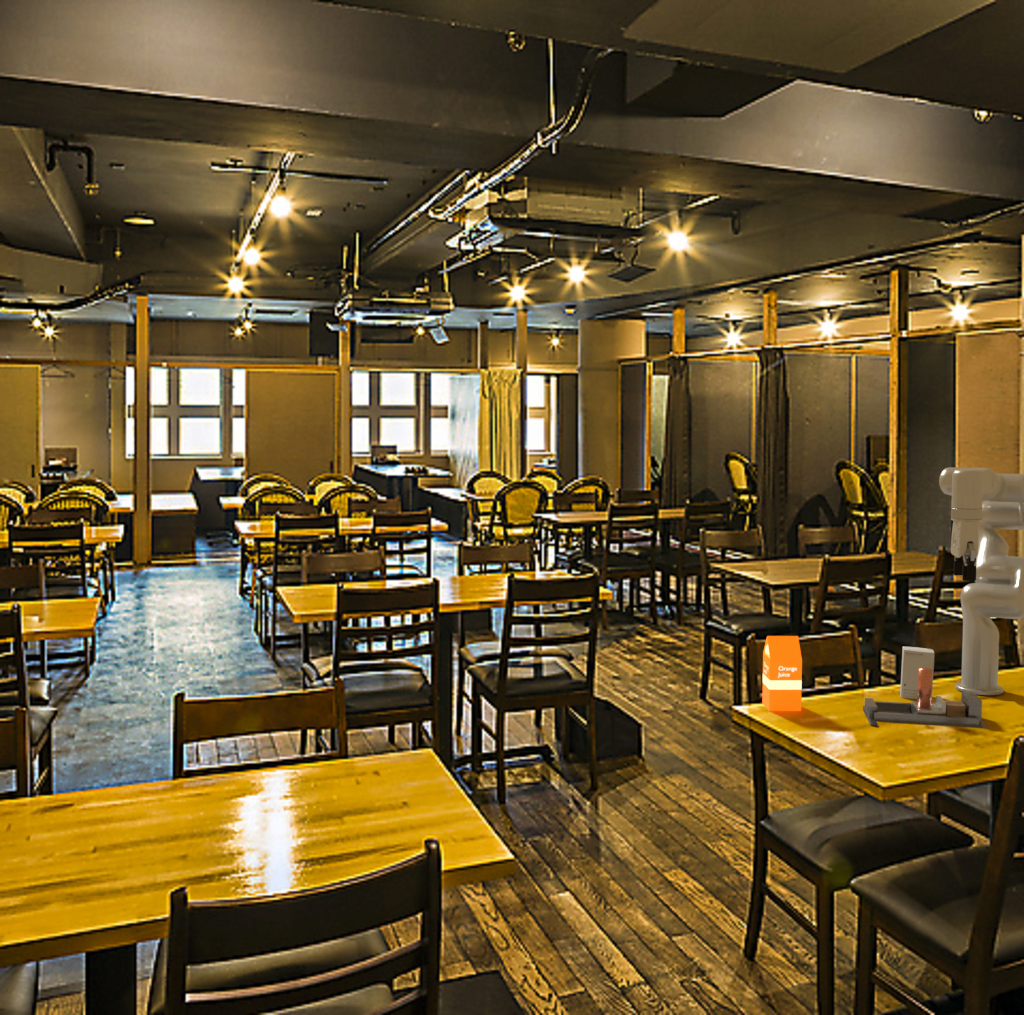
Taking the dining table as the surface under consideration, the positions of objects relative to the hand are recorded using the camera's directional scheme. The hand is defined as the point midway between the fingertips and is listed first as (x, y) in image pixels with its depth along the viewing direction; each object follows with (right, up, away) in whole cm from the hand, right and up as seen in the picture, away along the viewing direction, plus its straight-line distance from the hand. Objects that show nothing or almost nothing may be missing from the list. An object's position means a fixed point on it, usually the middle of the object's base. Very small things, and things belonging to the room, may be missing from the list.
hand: (964, 578), depth 249 cm
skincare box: (-8, -36, +12) cm, 38 cm away
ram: (-13, -36, -8) cm, 39 cm away
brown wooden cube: (-7, -36, -9) cm, 38 cm away
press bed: (-14, -37, -7) cm, 40 cm away
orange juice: (-48, -37, +6) cm, 60 cm away
